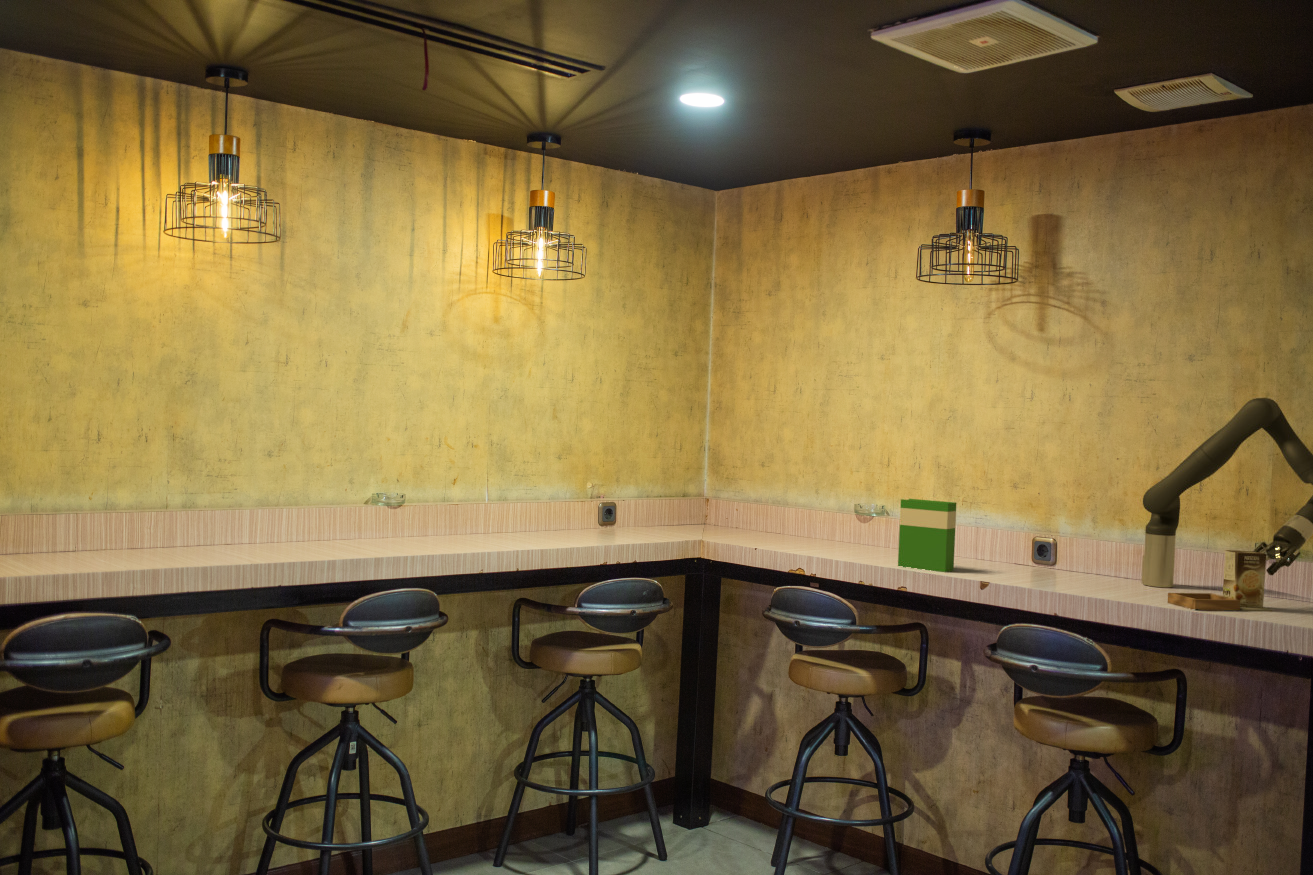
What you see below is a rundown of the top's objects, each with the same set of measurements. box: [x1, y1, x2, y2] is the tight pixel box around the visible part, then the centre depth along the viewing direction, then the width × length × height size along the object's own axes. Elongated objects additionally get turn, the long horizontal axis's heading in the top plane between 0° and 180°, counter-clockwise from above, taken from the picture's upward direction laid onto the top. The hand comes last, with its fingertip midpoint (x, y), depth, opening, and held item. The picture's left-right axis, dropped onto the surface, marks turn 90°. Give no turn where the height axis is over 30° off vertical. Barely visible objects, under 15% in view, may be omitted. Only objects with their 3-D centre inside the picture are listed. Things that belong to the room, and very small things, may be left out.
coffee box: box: [1222, 549, 1267, 607], centre depth 319 cm, size 9×6×16 cm
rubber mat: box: [1239, 606, 1274, 612], centre depth 319 cm, size 13×10×1 cm
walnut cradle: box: [1167, 592, 1241, 611], centre depth 317 cm, size 12×14×3 cm
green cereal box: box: [897, 498, 957, 573], centre depth 379 cm, size 18×7×24 cm, turn 52°
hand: (1258, 571), depth 319 cm, fingers open, 8 cm apart
